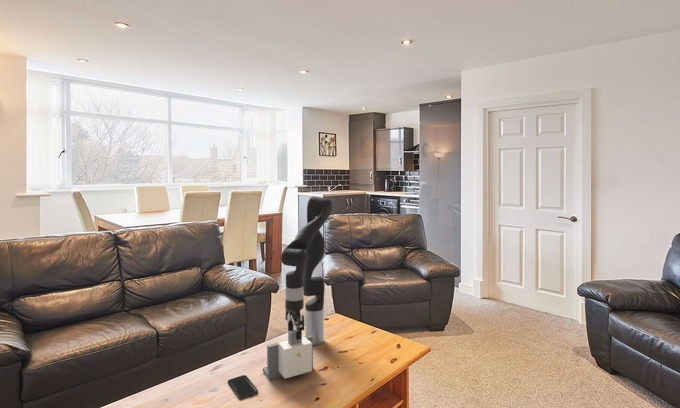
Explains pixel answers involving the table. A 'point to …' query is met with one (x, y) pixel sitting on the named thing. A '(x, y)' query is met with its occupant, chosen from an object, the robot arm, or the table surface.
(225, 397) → the table surface
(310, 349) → the cabinet
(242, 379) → the phone
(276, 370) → the wall board
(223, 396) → the table surface
